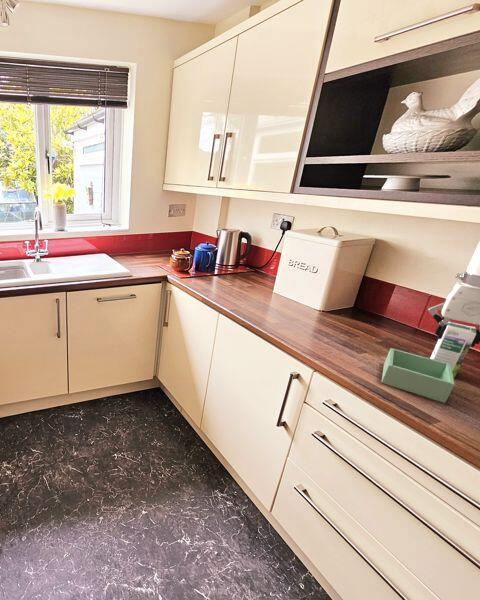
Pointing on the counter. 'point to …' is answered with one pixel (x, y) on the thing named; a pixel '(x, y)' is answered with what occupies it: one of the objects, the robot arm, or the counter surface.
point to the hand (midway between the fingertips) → (454, 340)
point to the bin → (418, 375)
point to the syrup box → (454, 345)
